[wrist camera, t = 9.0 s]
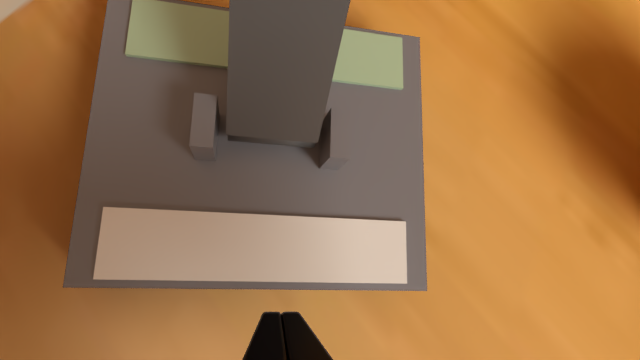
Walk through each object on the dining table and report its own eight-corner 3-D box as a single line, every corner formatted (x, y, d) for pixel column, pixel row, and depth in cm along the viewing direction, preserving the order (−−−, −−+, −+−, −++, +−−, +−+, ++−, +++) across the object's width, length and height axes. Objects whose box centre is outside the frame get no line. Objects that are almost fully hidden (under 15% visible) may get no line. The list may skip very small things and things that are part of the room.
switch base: (398, 285, 19) (452, 295, 14) (93, 281, 16) (33, 292, 12) (395, 66, 22) (440, 12, 17) (129, 30, 19) (91, -47, 14)
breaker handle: (320, 162, 15) (410, -206, 8) (218, 154, 14) (222, -260, 8) (315, 127, 17) (385, -201, 10) (223, 118, 16) (231, -245, 9)
